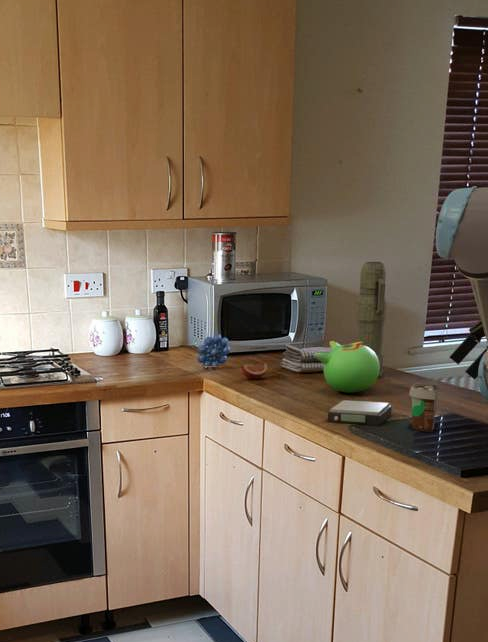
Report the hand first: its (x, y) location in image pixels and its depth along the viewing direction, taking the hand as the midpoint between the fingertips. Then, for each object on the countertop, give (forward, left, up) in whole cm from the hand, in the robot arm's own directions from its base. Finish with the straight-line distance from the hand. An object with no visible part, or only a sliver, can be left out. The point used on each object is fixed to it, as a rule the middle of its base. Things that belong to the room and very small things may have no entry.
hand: (461, 368), depth 199 cm
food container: (+4, +9, -15) cm, 18 cm away
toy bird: (+43, +37, -15) cm, 59 cm away
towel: (+80, +60, -15) cm, 101 cm away
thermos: (+72, +38, -15) cm, 83 cm away
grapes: (+71, +92, -15) cm, 117 cm away
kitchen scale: (+9, +25, -15) cm, 31 cm away
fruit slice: (+56, +71, -15) cm, 92 cm away
